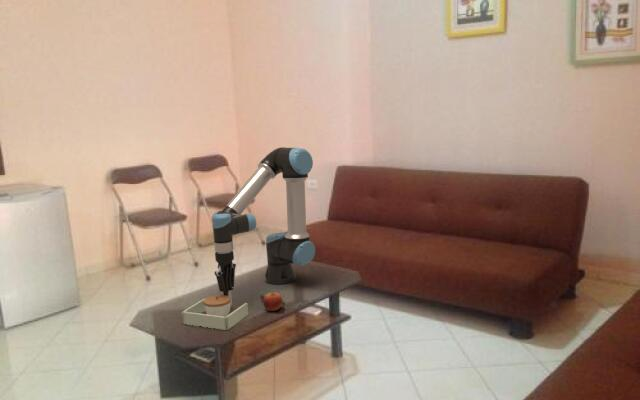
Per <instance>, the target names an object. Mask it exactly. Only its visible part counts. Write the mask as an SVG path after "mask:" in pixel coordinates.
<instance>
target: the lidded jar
mask: <svg viewBox="0 0 640 400" xmlns="http://www.w3.org/2000/svg"><path fill="white" fill-rule="evenodd" d="M231 299H232V297H231V298H230V297H229V296H226V295H224V294H218V295H212V296H208V297H206V299H205V300H204V306H205V313H206V314H208V315H215V316H223V317H226V316H227V315H229V314H230V313H231V307H232V306H231V302H230V301H231Z"/></svg>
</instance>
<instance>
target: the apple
mask: <svg viewBox="0 0 640 400" xmlns="http://www.w3.org/2000/svg"><path fill="white" fill-rule="evenodd" d="M262 304H263V307H264V308H265V309H266V310H268V311H272V312H274V311H277V310H279V309H281V307H282V305H283V297H282V295H281V294H280V293H279V292H274V291H273V292H269V293H267V294H266V295H264V296H263V300H262Z"/></svg>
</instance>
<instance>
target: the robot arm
mask: <svg viewBox="0 0 640 400" xmlns="http://www.w3.org/2000/svg"><path fill="white" fill-rule="evenodd" d="M313 162H314V160H313V157H312V155H311V153H310V152H309V151H308V150H307V149H305V148H301V147H282V146H281V147H278V148H275V149H273V150H272V151H270V152H269V153H267V155H266V156H265V157H264V158H263V159H262V160H261V161H260V162H259V163H258V164H257V169H256V170H255V171H254V172H253V174H251V176H250V177H249V178H248V179H247V181H246V182H245V183H244V184H243V185H242V186H241V188H240V189H239V190H238V191H237V192H236V194H235V195H234V196H233V197H232V198H231V199H230V201H229V202H228V203H227V204H226V206H224V208H222V210H217V211H215V212H214V213H213V214H212V217H211V223H212V230H213V231H212V233H213V243H214V252H215V253H214V257H215V258H214V259H215V262H216V263H217V270H215V271H214V276H215V277H216V281H217V285H218V286H217V287H218V289H219V292H221V293H223V294H222V295H226V296H229V297H230V298H231V301H230V302H231V307H232V306H233V304H232V303H233V301H232V291H234V287H235V274H236V267H237V263H233V261H234V259H235V255H234V243H233V236H235V235H236V236H237V235H240V234H244V233H249V232H252V231H254V230H255V229H256V228H257V219H256V217H255V215H254V214H252V213H244V211H245V210H246V209H247V208H248V207H249V206H250V204H251V203H252V202H253V201H254V199H255V198H256V197H257V196H258V195H259V194H260V193H261V192H262V190H263V188H264V187H265V186H266V185H267V184H268V183H269V181H270V180H271V179H273V180H274V179H275V178H276V176H277V175H279V174H281V173H282V180H284V181H285V184H286V185H285V187H286V188H285V189H286V216H287V217H286V219H287V222H286V223H287V232H286V231H284V232H282V231H281V232H275V233H272V234H271V233H270V234H268V235H267V236H266V238H265V246H266V247H265V248H266V262H267V267H266V271H265V274H264V281H265V282H266V283H267V284H270V285H286V284H289V282H290V283H292V281H293V282H295V280H296V279H297V275H296V272H295V269H294V266H293V264H294V265H295V266H306V265H308V264H310V262H311V261H312V260H314V257H315V254H316V246H315V244H314V243H313V242H312V241H311V238H310V234H309V232H307V219H306V218H307V216H306V215H307V213H306V209H307V207H306V187H305V186H306V183H305V181H306V180H307V179H308V177H309V173H310V172H311V171H312V169H313V165H314V164H313ZM242 213H244V214H242ZM285 283H286V284H285Z"/></svg>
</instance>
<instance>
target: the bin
mask: <svg viewBox="0 0 640 400" xmlns="http://www.w3.org/2000/svg"><path fill="white" fill-rule="evenodd" d="M206 298H207V297H206ZM206 298H202V299H201V300H199V301H198V302H196V303H194V304H193V305H191V306H189V307H188V308H186V309H184V310H183V311H181V312H180V315H181V324H182V325H185V324H187V325H186V326H192V325H193V326H194V327H199V326H202V327H201V328H207V327H208V328H209V329H214V328H215V329H216V330H223V331H228V330H230V329H231V328H232V327H234V326H235V325H237V324H238V323H239V322H241V321H242V320H244V318H246V317H247V316H249V306H248V305H249V303H247V302H244V303H243V304H242V305H241V306H239V307H237V308H236V309H235V310H233V311H232V312H229V314H228V315H227V316H226V317H223V316H215V315H208V314H205V313H206V311H205V306H204V300H205V299H206ZM204 312H205V313H204ZM215 329H214V330H215Z"/></svg>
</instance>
